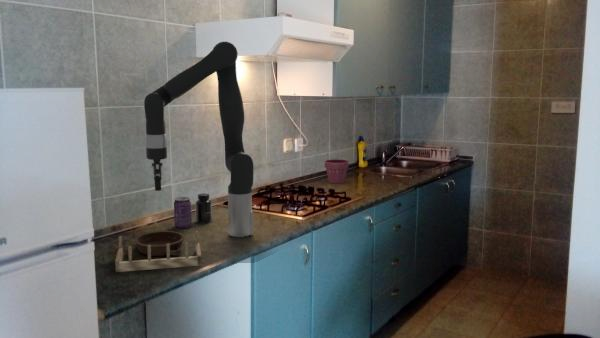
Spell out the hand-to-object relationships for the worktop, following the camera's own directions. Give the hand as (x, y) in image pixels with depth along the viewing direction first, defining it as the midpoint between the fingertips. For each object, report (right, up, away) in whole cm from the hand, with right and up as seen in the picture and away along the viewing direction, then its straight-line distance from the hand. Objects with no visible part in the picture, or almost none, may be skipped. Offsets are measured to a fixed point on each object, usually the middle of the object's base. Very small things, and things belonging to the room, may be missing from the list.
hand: (157, 188), depth 202 cm
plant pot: (+76, -1, +113) cm, 136 cm away
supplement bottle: (+12, -16, +29) cm, 35 cm away
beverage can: (+5, -17, +21) cm, 27 cm away
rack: (+6, -24, -20) cm, 32 cm away
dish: (+3, -23, -9) cm, 25 cm away
